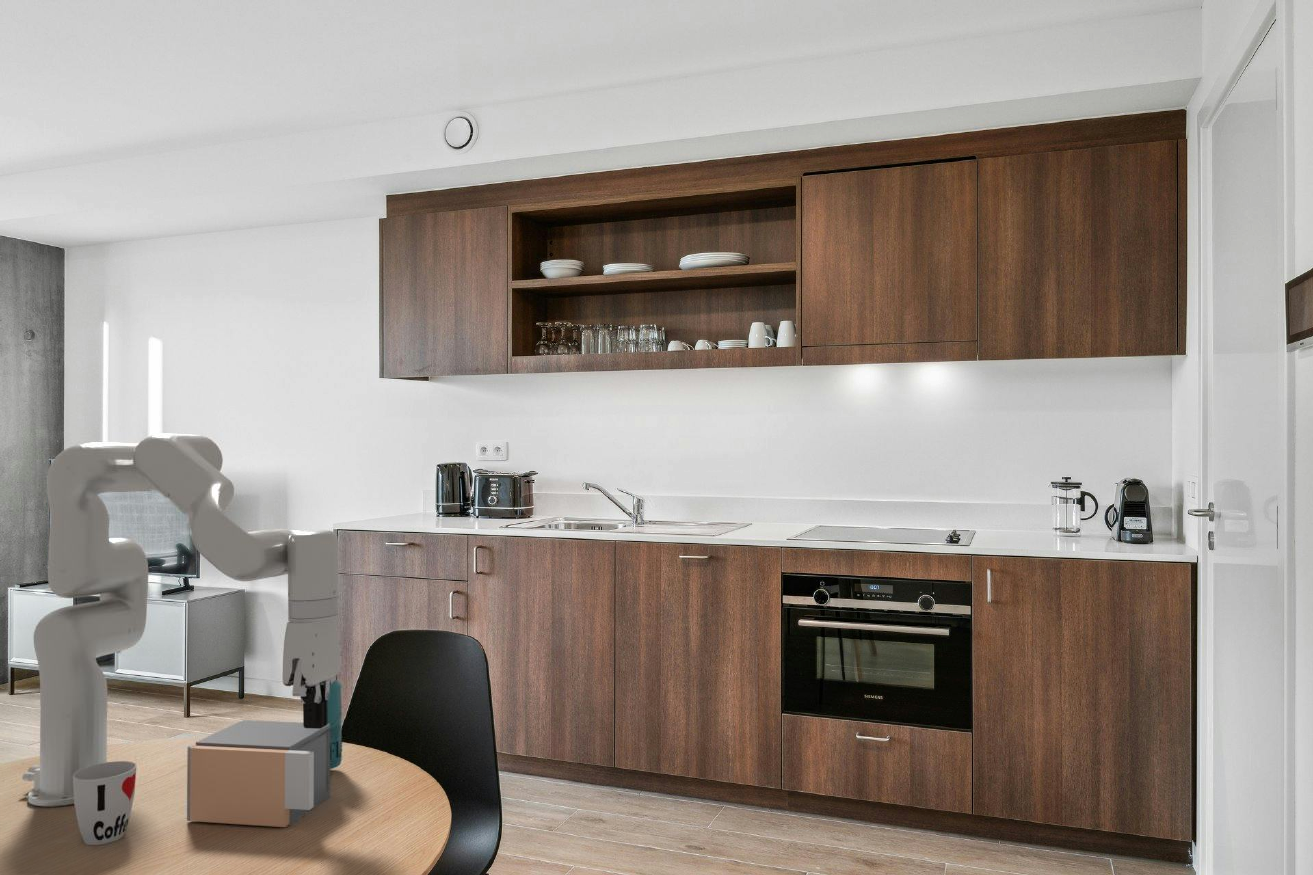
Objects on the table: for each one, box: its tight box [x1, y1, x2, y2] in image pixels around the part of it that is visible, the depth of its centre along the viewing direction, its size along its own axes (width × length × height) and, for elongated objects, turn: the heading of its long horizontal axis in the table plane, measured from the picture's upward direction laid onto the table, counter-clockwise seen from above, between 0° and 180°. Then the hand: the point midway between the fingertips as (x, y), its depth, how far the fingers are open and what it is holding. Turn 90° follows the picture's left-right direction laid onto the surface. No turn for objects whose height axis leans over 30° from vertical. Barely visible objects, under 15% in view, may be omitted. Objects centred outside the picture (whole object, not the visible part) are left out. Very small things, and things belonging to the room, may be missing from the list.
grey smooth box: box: [195, 719, 331, 827], centre depth 143 cm, size 16×12×12 cm
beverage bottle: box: [325, 679, 343, 770], centre depth 159 cm, size 6×7×20 cm
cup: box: [73, 760, 137, 846], centre depth 132 cm, size 8×8×10 cm
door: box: [186, 745, 315, 828], centre depth 136 cm, size 21×1×11 cm, turn 81°
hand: (315, 726), depth 138 cm, fingers closed
